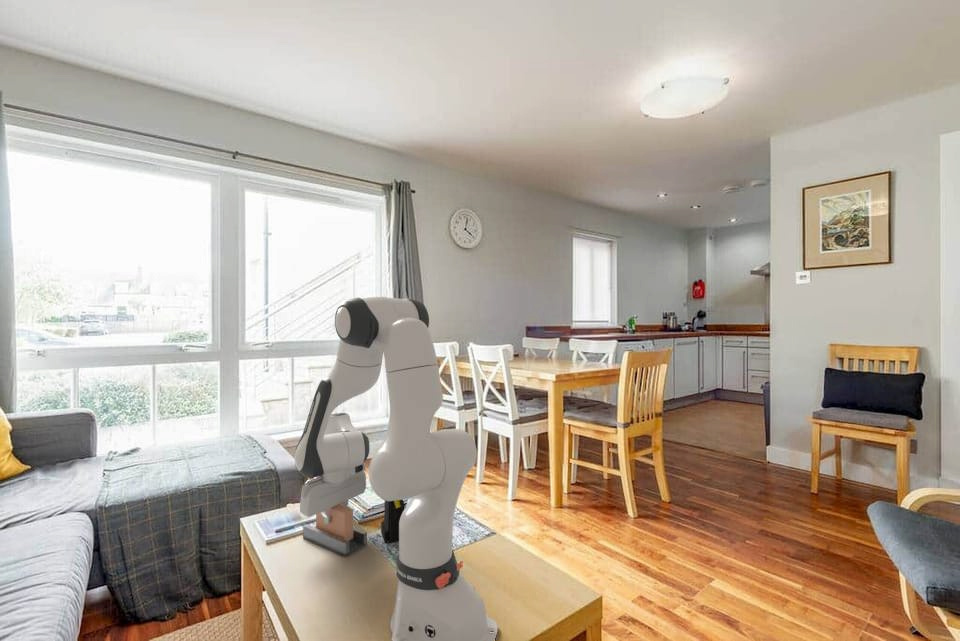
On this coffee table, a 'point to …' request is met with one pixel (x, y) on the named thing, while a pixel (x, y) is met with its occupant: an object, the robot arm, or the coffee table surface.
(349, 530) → the salmon orange rectangular block
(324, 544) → the bracket
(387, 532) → the portable radio
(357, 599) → the coffee table surface
